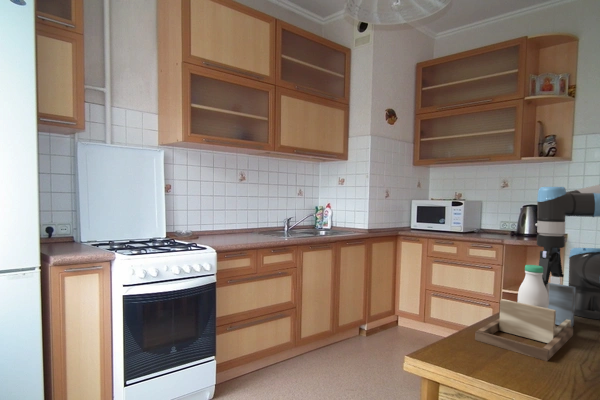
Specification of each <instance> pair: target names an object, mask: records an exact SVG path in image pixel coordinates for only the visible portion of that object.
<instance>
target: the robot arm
mask: <svg viewBox="0 0 600 400" xmlns="http://www.w3.org/2000/svg"><path fill="white" fill-rule="evenodd" d="M536 202H537V217H536V220H537V221H536V222H537V223H535V227H537V228H536V229H537V230H536V231H537V233H538V234H537V235H536V245H537V246H538V247H541V248H543V250H540V251H539V259H538V260H539V261H538V266H542V267H543V275H542V279H543V283H544V285H545V287H546V289H547V293H548V305H549V284H548V283H554V284H560V285H561V278H564V275H565V274H563V273H564V272H563V266H562V259H561V258H562V257H561V249H563V248H564V247H566V245H565V242H566V239H565V238H566V237H565V236H564V235H565V234H566V217H580V218H581V217H583V218H586V217H589V218H590V217H591V218H597V217H600V184H595V185H592V186H588V187H587V186H586V187H583V188H578V189H574V190H569V191H567V189H566V187H564V186H542V187H539V189H538V190H537V200H536ZM568 260H569V262H568V264H569V265H568V285H567V286H572V287H575V309H574V316H577V317H583V318H586V319H592V320H593V319H594V320H600V247H597V248H596V247H572V248H571V249H570V251H569V255H568ZM549 281H550V282H549Z"/></svg>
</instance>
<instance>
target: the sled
mask: <svg viewBox="0 0 600 400" xmlns="http://www.w3.org/2000/svg"><path fill="white" fill-rule="evenodd" d="M523 281H524V279H523V280H522V282H523ZM548 284H549V305H548V308H543V307H538V306H533V305H528V304H524V303H519V302H517V301H513V300H508V299H502V298H501V299H500V301H499V318H500V319H499V318H498V319H499V330H498V331H501V332H504V333H507V334H510V335H516V336H519V337H523V338H527V339H529V340H530V339H531V340H535V341H536V342H537V341H538V342H542V343H546V344H548V343H549V342H550V341H551V340H552V339H553V338H555V337H556V336H557V335H558V334H559V333H560V332H561V331H562V330H564V329H565V328H566V327H567V326H569V327H573V326H575V315H574V309H575V287H572V286H568V285H565V284H561V283H560V284H554V283H550V282H548ZM556 325H557V326H556Z"/></svg>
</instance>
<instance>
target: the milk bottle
mask: <svg viewBox="0 0 600 400" xmlns="http://www.w3.org/2000/svg"><path fill="white" fill-rule="evenodd" d="M524 274H525V276H524V279H523V280H524V281H523V280H522V282H521V284H520V286H519V288H518V292H517V301H516V302H519V303H524V304H528V305H533V306H538V307H543V308H548V293H547V289H546V287H545V285H544V283H543V279H542V275H543V267H542V266H539V265H536V264H525V266H524Z"/></svg>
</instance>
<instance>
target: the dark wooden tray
mask: <svg viewBox="0 0 600 400" xmlns="http://www.w3.org/2000/svg"><path fill="white" fill-rule="evenodd" d="M499 319H500V317H499V318H497V319H495V320H493V321H492V322H489V323H488V324H486V325H484V326H483V327H481V328H479V329H478V330H475V331H474V332H475V333H474V334H475V335H474V340H475V341H478V342H480V343H484V344H488V345H490V346H494V347H498V348H501V349H505V350H508V351H511V352H515V353H518V354H522V355H525V356H527V357H528V356H529V357H531V358H534V357H535V359H538V360H542V361H545V362H548V361H549V360H550V359H551V358H552V357H553V356H554V355H555V354H556V353H557V352H558V351H560V349H561V348H562V347H563V346H564V345H565V344H566V343H567V342H568V341H569V340H570V339H571V338H572V337H573V336H574V327H573V326H572V327H569V326H567V327H566V328H565V329H564V330H562V331H561V332H560V333H559V334H558V335H557V336H556V337H555V338H553V339H552V340H551V341H550V342H549V343H546V345H545V346H543V347H539V346H535V345H532V344H528V343H525V342H520V341H516V340H514V339H509V338H506V337H502V336H499V335H495V333H497V332H498V331H500V330H499Z"/></svg>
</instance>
